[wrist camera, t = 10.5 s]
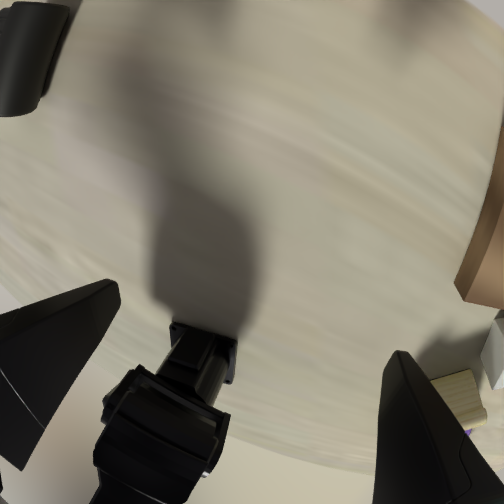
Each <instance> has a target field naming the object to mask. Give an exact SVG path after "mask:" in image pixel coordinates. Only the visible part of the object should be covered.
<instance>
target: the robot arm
mask: <svg viewBox="0 0 504 504" xmlns="http://www.w3.org/2000/svg"><path fill="white" fill-rule="evenodd" d="M120 305H121V298H120V293H119V287H118V284H117V282H116V281H113V280H110V279H103V280H100V281H97V282H94V283H91V284H88V285H85V286H82V287H79V288H76V289H73V290H70V291H67V292H64V293H61V294H59V295H56V296H53V297H50V298H47V299H44V300H41V301H38V302H35V303H32V304H30V305H27V306H24V307H21V308H20V309H15V310H13V311H9V312H6V313H3V314H1V315H0V455H1V456H2V457H3V458H5V459H6V460H7V461H8V462H10V463H11V464H12V465H13V466H15V467H16V468H18V469H19V470H20V471H22V470H23V469H24V468H25V466H26V464H27V462H28V460H29V458H30V456H31V454H32V452H33V450H34V448H35V447H36V445H37V443H38V441H39V440H40V438H41V436H42V434H43V432H44V431H45V429H46V427H47V425H48V424H49V422H50V420H51V419H52V417H53V415H54V413H55V412H56V410H57V409H58V407H59V405H60V404H61V402H62V400H63V398H64V397H65V395H66V394H67V392H68V391H69V389H70V387H71V386H72V384H73V383H74V381H75V380H76V378H77V377H78V375H79V373H80V372H81V370H82V369H83V367H84V366H85V364H86V363H87V361H88V360H89V358H90V357H91V355H92V354H93V352H94V351H95V349H96V348H97V346H98V345H99V343H100V342H101V340H102V338H103V337H104V335H105V333H106V331H107V329H108V328H109V326H110V324H111V322H112V320H113V319H114V317H115V315H116V313H117V312H118V310H119V308H120ZM169 329H170V338H171V347H172V349H171V350H170V352H169V353H168V355H167V356H166V358H165V359H164V361H163V363H162V364H161V366H160V367H159V369H158V370H157V372H156V373H155V374H153V373H151V372H150V371H148V370H147V369H145V367H144V366H142V365H141V364H139V365H138V366H137V367H136V369H135V370H134V369H132V370H129V371H128V372H127V374H126V375H125V377H124V378H123V379H122V381H121V382H120V383H119V384H118V385H117V386H116V387H114V388H113V389H112V390H111V391H110V392H109V393H108V394H107V395H105V397H104V398H103V400H102V402H103V406H104V409H103V414H102V417H101V422H102V423H103V424H105V425H106V426H105V428H104V430H103V431H102V433H101V435H100V437H99V439H98V440H97V442H96V444H95V449H94V451H93V464H94V466H95V467H97V470H98V477H99V487H98V489H97V490H96V492H95V494H94V496H93V498H92V499H91V501H90V503H89V504H183V503H185V502H186V501H187V500H188V498H189V496H190V494H191V492H192V490H193V489H194V487H195V485H196V483H197V482H198V480H199V479H200V477H203V478H205V477H207V476H208V475H209V474H210V473H211V472H212V470H213V469H214V467H215V466H216V464H217V462H218V460H219V458H220V456H221V453H222V450H223V446H224V443H225V439H226V434H227V430H228V426H229V421H230V417H231V415H230V414H228V413H226V412H225V413H224V412H222V411H220V410H218V409H216V408H214V407H213V404H214V402H215V400H216V398H217V395H218V393H219V391H220V388H221V386H222V384H223V383H225V384H232V382H233V379H234V370H235V360H236V351H237V342H236V340H234V339H232V338H228V337H224V336H221V335H217V334H214V333H210V332H207V331H203V330H200V329H196V328H193V327H190V326H187V325H183V324H180V323H177V322H172V323H171V324H170V326H169ZM230 343H231V344H230ZM2 490H3V486H2V481H1V473H0V493H1V492H2ZM0 504H8V503H7V502H6V501H5V500H4V499H3V498H2V497H1V496H0ZM372 504H504V484H503V483H502V482H501V480H500V479H499V478H498V476H497V475H496V474H495V472H494V471H493V470H492V468H491V467H490V466H489V465H488V463H487V462H486V461H485V459H484V458H483V456H482V455H481V454H480V452H479V451H478V449H477V448H476V447H475V445H474V444H473V442H472V441H471V439H470V438H469V436H468V435H467V433H465V430H464V429H463V427H462V426H461V424H460V423H459V421H458V420H457V418H456V417H455V415H454V414H453V413H452V411H451V410H450V408H449V407H448V405H447V404H446V403H445V401H444V400H443V398H442V397H441V396H440V394H439V393H438V391H437V390H436V389H435V387H434V386H433V384H432V383H431V382H430V380H429V379H428V378H427V376H426V375H425V374H424V372H423V371H422V370H421V368H420V367H419V366H418V364H417V363H416V362H415V360H414V359H413V358H412V356H411V355H410V354H409V353H408V352H406V351H400V350H396V351H395V352H394V353H393V354H392V356H391V358H390V360H389V361H388V363H387V365H386V366H385V368H384V371H383V376H382V387H381V397H380V405H379V414H378V436H377V457H376V471H375V483H374V493H373V502H372Z"/></svg>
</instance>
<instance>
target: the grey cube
mask: <svg viewBox="0 0 504 504" xmlns="http://www.w3.org/2000/svg"><path fill="white" fill-rule="evenodd" d="M480 358H481V360H482V363H483V366H484V368H485V371H486V374H487V377H488V380H489V382H490V385H491V388H492V390H496V389H500V388H504V318H498V319H494V321H493V324H492V327H491V329H490V332H489V335H488V337H487V340H486V342H485V345H484V347H483V350H482V352H481V354H480Z"/></svg>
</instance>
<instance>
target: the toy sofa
mask: <svg viewBox="0 0 504 504" xmlns="http://www.w3.org/2000/svg"><path fill="white" fill-rule="evenodd" d="M430 382H431V383H432V384H433V386H434V387H435V389H436V390H437V391H438V393H439V394H440V396H441V397H442V398H443V400H444V401H445V403H446V404H447V405H448V407H449V408H450V410H451V411H452V413H453V414H454V415H455V417H456V418H457V420H458V421H459V423H460V424H461V426H462V427H463V429H464V430H465V433H467V435H468V436H469V434H470V433H471V430H472V428H475V427H478V426H481V425H483V424H486V422H487V412H486V409H485V408H483V405H482V402H481V398H480V395H479V392H478V388H477V385H476V382H475V379H474V376H473V373H472V370H471V369H468V370H465V371H462V372H458V373H455V374H452V375H448V376H445V377H442V378H438V379H435V380H431V381H430Z"/></svg>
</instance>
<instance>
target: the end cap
mask: <svg viewBox="0 0 504 504" xmlns="http://www.w3.org/2000/svg"><path fill="white" fill-rule="evenodd" d="M69 10H70V8H69V7H67V6H63V5H58V4H51V3H42V2H25V1H17V2H14V3H13V4H12V6H11V7H9V8H3V9H2V10H1V11H0V117H15V116H21V115H25V114H28V113H31V112H33V111H34V110H35V109H36V108H37V105H38V102H39V101H40V97H41V93H42V89H43V86H44V82H45V78H46V75H47V72H48V68H49V65H50V62H51V59H52V56H53V53H54V50H55V47H56V45H57V42H58V39H59V37H60V34H61V32H62V29H63V27H64V24H65V22H66V20H67V17H68V15H69Z"/></svg>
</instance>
